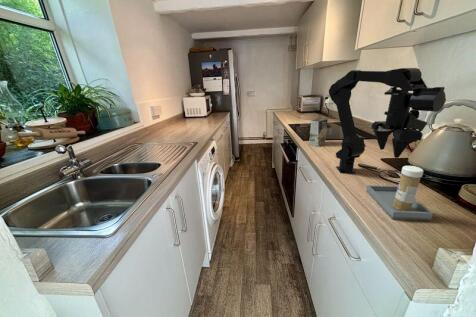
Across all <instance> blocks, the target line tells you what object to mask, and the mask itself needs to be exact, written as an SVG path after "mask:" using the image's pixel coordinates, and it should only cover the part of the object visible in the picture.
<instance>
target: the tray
mask: <svg viewBox="0 0 476 317" xmlns="http://www.w3.org/2000/svg"><path fill="white" fill-rule="evenodd" d="M397 189H398V185H366V190H365V192H366V193H367V194H368V196H370V197H371V199H372V200H374V202H375V203H376V204H377V205H378V206H379V208H380V209H381V210H383V211H384V212H385V213H386V215H387V216H388V217H389V218H390V219H391V220H403V221H406V220H407V221H421V222H422V221H426V222H431V220H432V218H433V216H434V213H433V212H432V211H430V210H429V209H428V208H426V206H424V205H423V204H421V203H420V202H419V201H417V200H416V199H414V202H413V204H412V207H411V211H399V210H397V209H395V208H394V207H393V203H394V200H395V196H396V192H397Z"/></svg>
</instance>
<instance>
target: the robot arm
mask: <svg viewBox="0 0 476 317" xmlns="http://www.w3.org/2000/svg"><path fill="white" fill-rule="evenodd" d="M359 82H368V83H381V84H383V85H386V86H388V87H390V88H389V89H388V90H386V91H385V92H384V93H383V94H384V95H385V96H388V95H389V96H390V99H389V104H388V108H387V111H386V110H385V111H384V112H383V113H384V114H383V115H384V116H386V117H385V120H375V121H374V122H373V123H371V130H372V132H373V133H374V136H375V138H376V141H377V144H378V147H379V149H380V150H382V151H383V150H384V149H385V148H386V145H387V142H388V139H389V136H390V135H391V134H392V136H393V138H391V140H392V150H393V157H394V158H396V159H398V158H399V157H401V155H402V153H403V152H404V151H405V150H406V148H407V147H408V146H409V145H410V144H413V143H416V142H418V141H421V140H422V138H423V135H424V134H423V130H424V129H425V128H426V126H427V125H428V121H424V120H421V119H418V118H416V116H415V115H414V114H413V112H410V111H411V110H413V111H417V112H419V111H420V112H433V113H436V112H437V113H438V112H439V111H441V110H442V108H444V106H445V104H446V102H447V98H446V91H445V86H437V87H436V86H435V87H428V86H427V84H426V82H425V80H423V78H422V71H421V69H420V68H419V67H402V68H395V69H390V70H389V69H388V70H385V71H383V70H381V71H380V70H361V69H353V70H350V71H348V72H347V73H346V74H345V75H344V76H343V77H341V78H339V79H338V80H336V81H335V82H334V83H332V84H331V86H330V87H329V89H328V94H329V97H330V99H331V101H332V102H333V103H334V105H335V106H336V109H337V114H338V118H339V122H340V127H341V131H342V135H343V139H342V141H341V144H340V145H341V148H340V149H339V150H338V151H337V152H335V158H337V159H339V165H337V166H335V168H336V169H337V170H338V171H339V173H340V174H357V171H356V170H355V169H354V165H355V159H357V158H360V157H361V156H362V154H364V152H365V150H366V148H365V147H366V144H365V138H364V136H363V137H359V135H358V133H357V131H356V126H355V123H354V118H353V112H352V108H351V105H350V101H351V97H352V90H354V89H355V88H356V87H357V84H358V83H359ZM398 88H399V89H398Z"/></svg>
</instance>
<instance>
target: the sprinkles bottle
mask: <svg viewBox="0 0 476 317" xmlns="http://www.w3.org/2000/svg"><path fill="white" fill-rule="evenodd" d="M400 174H401V175H400V179H399V183H398V184H397V186H398V189H397V192H396V196H395V200H394V203H393V207H394V208H395V209H397V210H399V211H411V207H412V204H413V202H414V199H415V198H416V195H417V191H418V188H419V185H420V181H421V178H422V177H423V174H424V169H422V168H421V167H418V166H414V165H404V166H402V168H401V173H400ZM415 200H416V199H415Z"/></svg>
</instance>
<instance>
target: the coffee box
mask: <svg viewBox="0 0 476 317" xmlns="http://www.w3.org/2000/svg"><path fill="white" fill-rule="evenodd" d="M327 127H328V119H325V118H316V119H311V120H310V130H309V141H308V145H310V146H313V147H320V146H322V145H324V144H325V143H326V136H327V129H328V128H327Z"/></svg>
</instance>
